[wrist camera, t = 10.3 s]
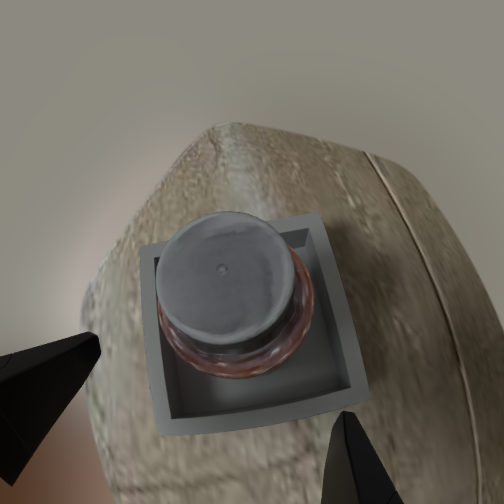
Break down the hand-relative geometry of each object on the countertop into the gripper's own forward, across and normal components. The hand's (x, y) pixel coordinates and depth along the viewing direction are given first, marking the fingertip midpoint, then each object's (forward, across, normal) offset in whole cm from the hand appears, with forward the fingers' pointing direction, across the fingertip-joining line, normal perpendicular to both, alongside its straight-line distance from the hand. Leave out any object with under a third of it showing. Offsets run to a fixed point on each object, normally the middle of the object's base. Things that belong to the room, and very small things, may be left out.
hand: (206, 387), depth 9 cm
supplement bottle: (+9, 0, +4) cm, 10 cm away
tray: (+9, 0, +4) cm, 10 cm away
